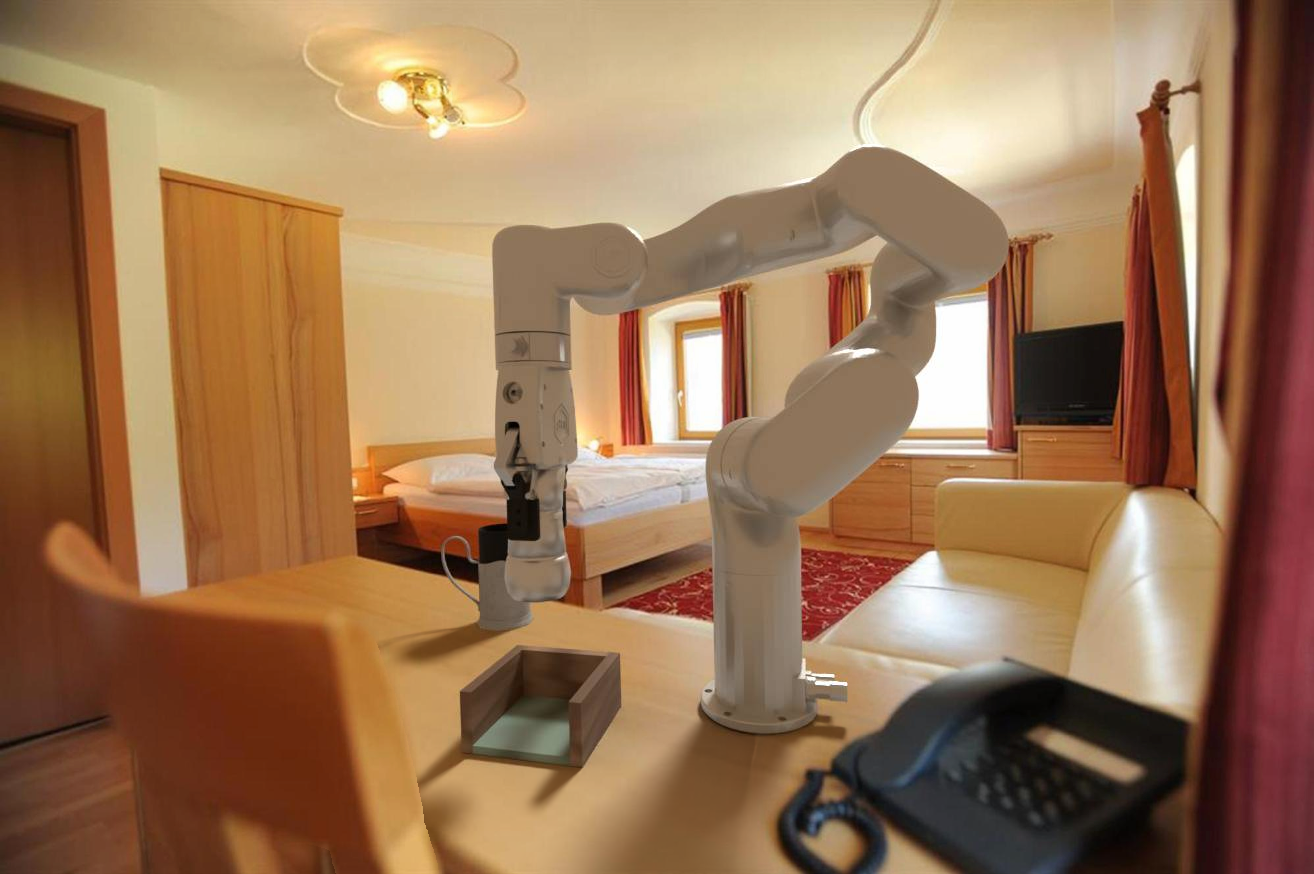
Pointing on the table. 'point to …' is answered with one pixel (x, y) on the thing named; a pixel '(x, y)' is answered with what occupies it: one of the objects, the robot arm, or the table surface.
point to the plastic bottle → (541, 544)
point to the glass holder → (493, 582)
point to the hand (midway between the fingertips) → (538, 531)
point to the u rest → (541, 705)
